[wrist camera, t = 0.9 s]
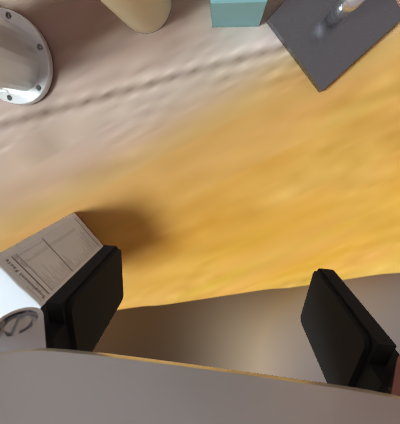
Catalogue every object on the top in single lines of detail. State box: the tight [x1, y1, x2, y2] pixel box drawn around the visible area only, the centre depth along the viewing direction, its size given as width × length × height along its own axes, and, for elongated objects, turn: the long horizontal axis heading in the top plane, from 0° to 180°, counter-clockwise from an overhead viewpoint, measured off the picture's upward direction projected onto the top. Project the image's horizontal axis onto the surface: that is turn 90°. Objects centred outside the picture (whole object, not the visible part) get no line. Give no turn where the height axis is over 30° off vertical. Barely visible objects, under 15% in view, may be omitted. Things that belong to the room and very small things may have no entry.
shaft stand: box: [267, 0, 400, 92], centre depth 27 cm, size 12×12×7 cm
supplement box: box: [0, 212, 103, 318], centre depth 37 cm, size 10×9×17 cm
